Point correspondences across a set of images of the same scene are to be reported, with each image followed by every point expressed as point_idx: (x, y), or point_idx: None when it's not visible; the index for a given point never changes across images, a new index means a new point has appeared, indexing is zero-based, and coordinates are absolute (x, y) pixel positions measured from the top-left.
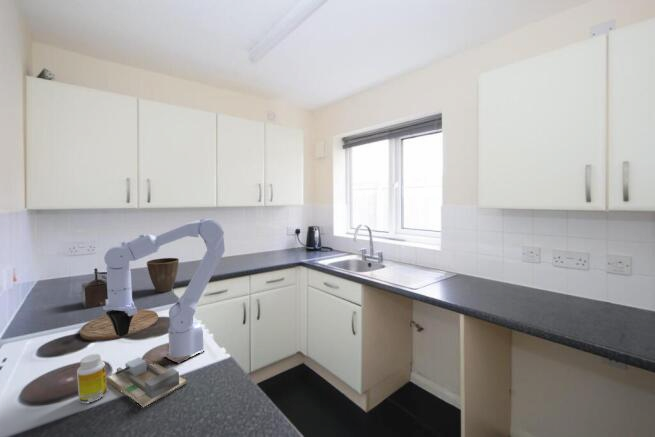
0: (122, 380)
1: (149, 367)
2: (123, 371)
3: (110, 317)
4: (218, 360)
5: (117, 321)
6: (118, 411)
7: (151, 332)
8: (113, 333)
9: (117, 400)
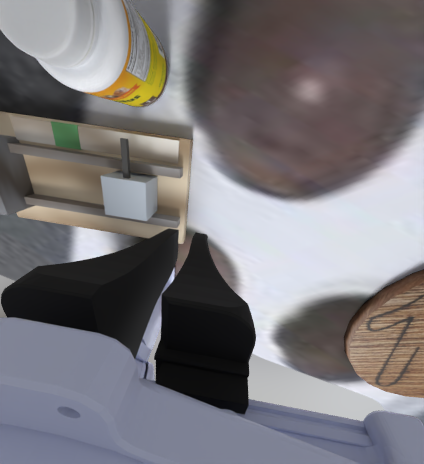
0: None
1: None
2: (147, 168)
3: (188, 282)
4: None
5: (85, 262)
6: (22, 69)
7: (317, 329)
8: (415, 297)
9: (73, 98)
